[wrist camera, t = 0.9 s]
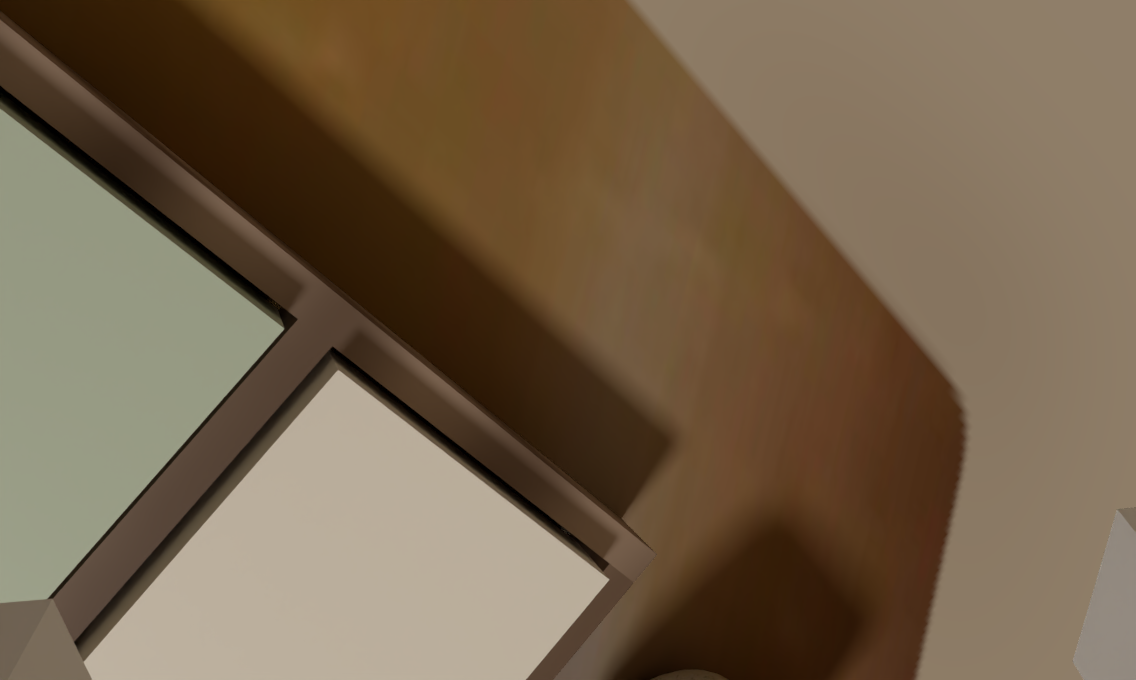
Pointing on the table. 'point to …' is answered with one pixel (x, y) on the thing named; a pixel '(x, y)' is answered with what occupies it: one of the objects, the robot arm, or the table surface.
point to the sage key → (98, 350)
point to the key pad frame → (284, 361)
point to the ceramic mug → (690, 675)
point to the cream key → (346, 560)
